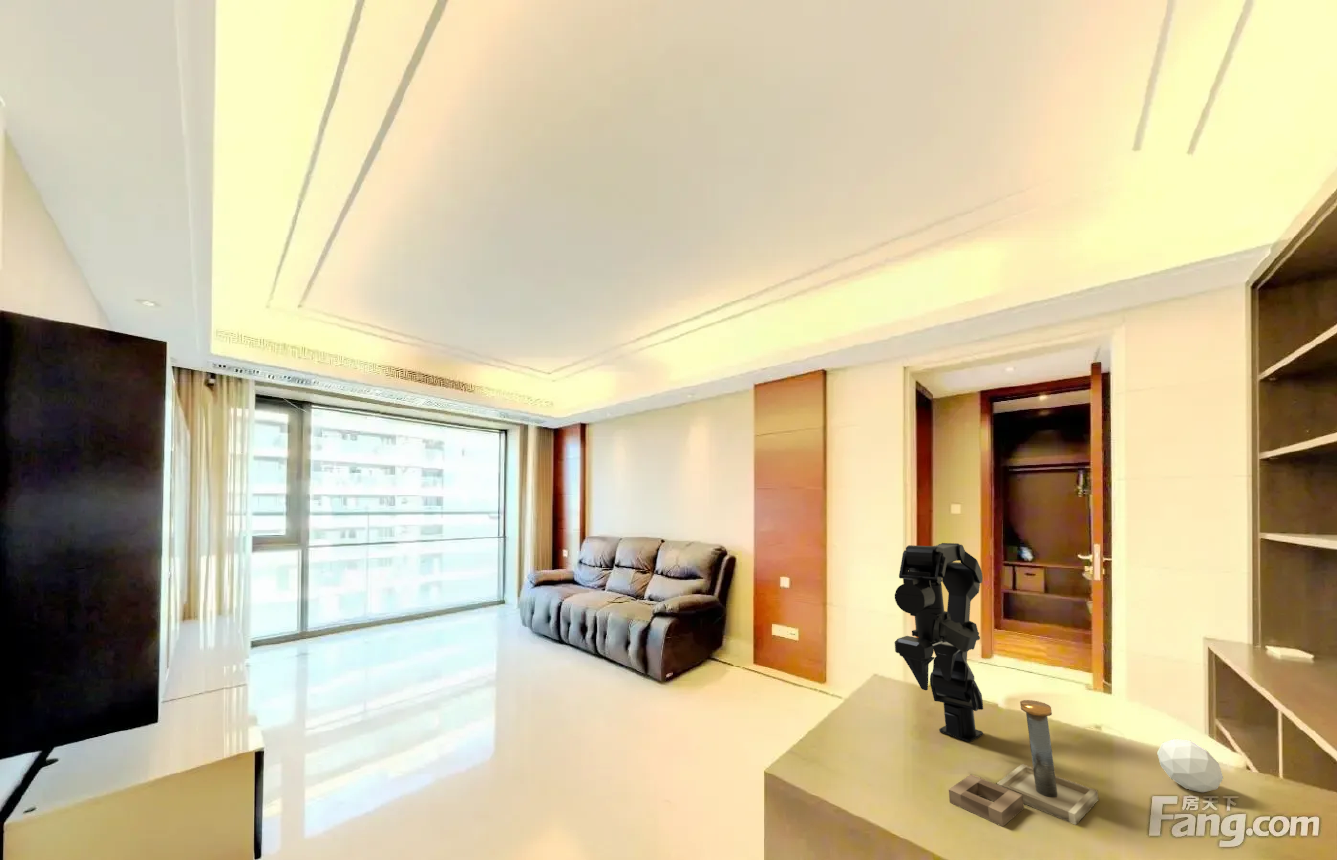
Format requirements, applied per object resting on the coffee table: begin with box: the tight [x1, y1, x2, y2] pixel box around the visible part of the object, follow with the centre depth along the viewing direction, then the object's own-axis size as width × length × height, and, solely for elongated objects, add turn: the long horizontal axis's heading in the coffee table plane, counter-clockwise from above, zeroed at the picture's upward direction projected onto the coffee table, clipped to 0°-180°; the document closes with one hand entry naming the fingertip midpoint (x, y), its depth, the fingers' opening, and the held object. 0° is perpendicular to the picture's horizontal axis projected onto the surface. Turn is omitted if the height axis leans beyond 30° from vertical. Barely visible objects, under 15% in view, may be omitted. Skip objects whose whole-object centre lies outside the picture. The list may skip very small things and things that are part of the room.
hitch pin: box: [1019, 699, 1058, 797], centre depth 85 cm, size 4×4×14 cm
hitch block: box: [948, 774, 1025, 827], centre depth 82 cm, size 8×8×2 cm
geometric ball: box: [1157, 738, 1224, 793], centre depth 86 cm, size 8×8×8 cm
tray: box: [996, 763, 1100, 826], centre depth 84 cm, size 11×11×2 cm
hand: (936, 685), depth 101 cm, fingers open, 9 cm apart
